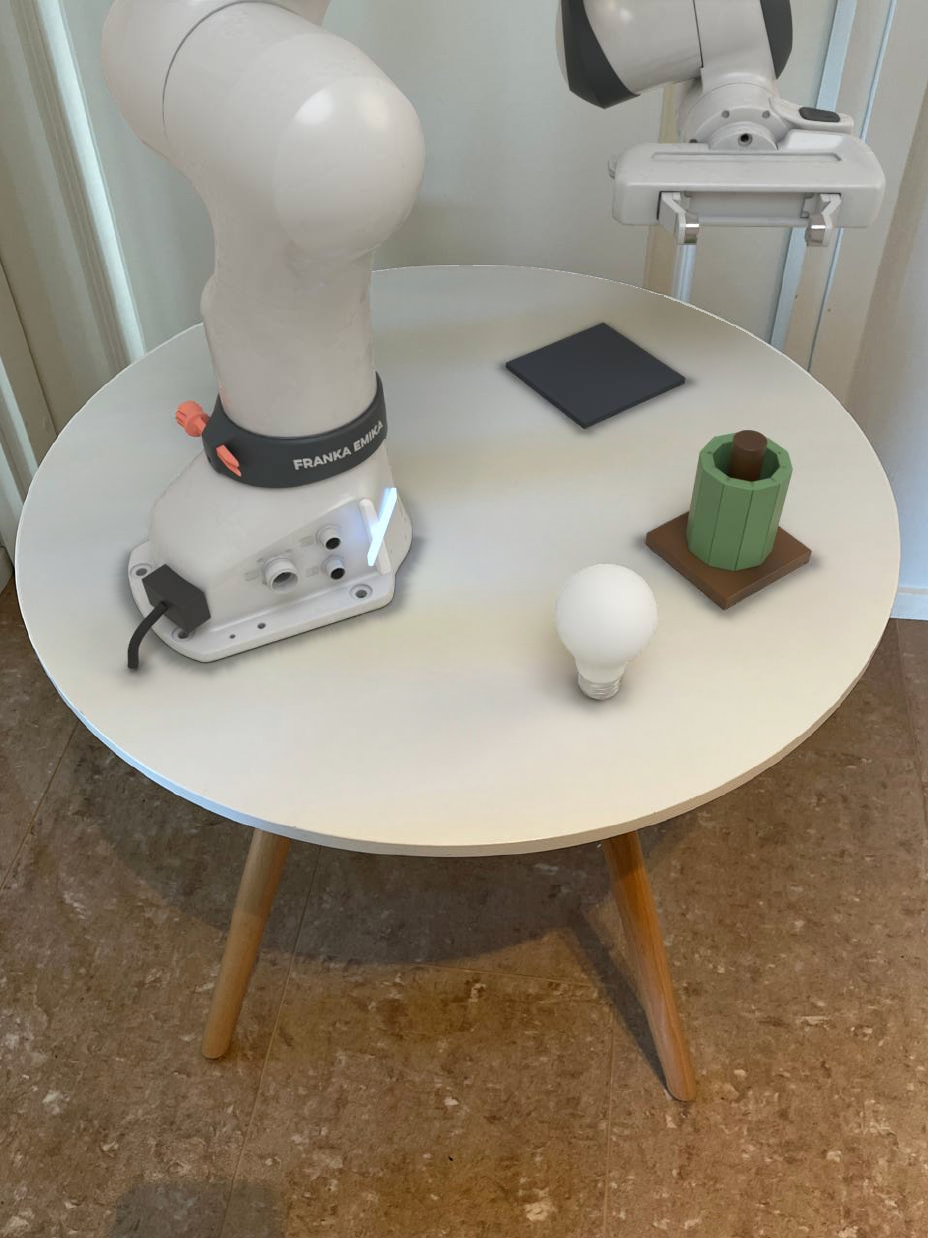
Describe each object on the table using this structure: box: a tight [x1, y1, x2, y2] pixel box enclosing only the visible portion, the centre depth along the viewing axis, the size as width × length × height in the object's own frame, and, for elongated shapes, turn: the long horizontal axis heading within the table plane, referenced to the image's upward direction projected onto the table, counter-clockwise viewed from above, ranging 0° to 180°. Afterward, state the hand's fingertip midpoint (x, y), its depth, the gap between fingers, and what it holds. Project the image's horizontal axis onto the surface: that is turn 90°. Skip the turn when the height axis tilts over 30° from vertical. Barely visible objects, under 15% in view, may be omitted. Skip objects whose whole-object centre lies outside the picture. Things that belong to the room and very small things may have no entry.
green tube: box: [686, 431, 794, 571], centre depth 79 cm, size 6×7×8 cm
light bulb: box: [553, 563, 659, 701], centre depth 70 cm, size 7×7×11 cm
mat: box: [505, 321, 686, 429], centre depth 100 cm, size 12×12×1 cm
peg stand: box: [644, 429, 813, 610], centre depth 79 cm, size 9×9×11 cm
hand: (753, 236), depth 77 cm, fingers open, 8 cm apart
